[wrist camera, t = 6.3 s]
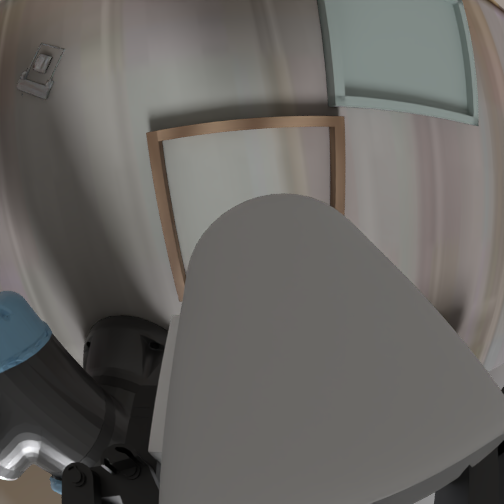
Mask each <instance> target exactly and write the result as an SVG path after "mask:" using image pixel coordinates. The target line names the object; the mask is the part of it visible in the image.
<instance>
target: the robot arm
mask: <svg viewBox="0 0 504 504" xmlns="http://www.w3.org/2000/svg"><path fill="white" fill-rule="evenodd" d="M179 319H180V315H173V316H172V317H171V321H170V326H169V330H168V331H166V330H165V329H163V328H161V327H160V326H158V325H156V324H154V323H151V322H149V321H146V320H143V319H140V318H135V317H130V316H113V317H108V318H105V319H102V320H100V321H99V322H97V323H96V324H95V325H94V326H93V327H92V329H91V330H90V332H89V334H88V336H87V339H86V341H85V344H84V356H83V368H82V367H81V366H80V365H79V364H78V363H77V361H76V360H75V359H74V358H73V357H72V356H71V355H70V354H69V353H68V351H67V350H66V349H65V348H64V347H63V346H62V344H61V343H60V342H59V341H58V340H57V338H56V337H55V336H54V335H53V333H52V331H51V329H50V328H49V326H48V325H47V323H45V322H44V321H42V320H41V319H40V318H39V317H38V315H37V314H36V313H35V312H34V310H33V309H32V308H31V307H30V305H29V304H28V303H27V301H26V300H25V299H24V298H23V297H22V296H21V295H19V294H18V293H16V292H13V291H2V292H0V479H3V480H16V479H18V478H19V477H20V476H21V475H22V474H23V473H24V471H25V470H26V469H27V468H28V467H29V466H30V465H32V464H36V465H37V466H39V467H40V468H42V469H43V470H46V471H47V472H49V473H50V474H52V476H51V477H50V481H51V488H52V489H53V490H54V491H55V492H58V493H59V494H62V504H159V488H160V472H161V459H162V447H163V437H164V427H165V418H166V409H167V400H168V392H169V385H170V377H171V370H172V363H173V357H174V350H175V344H176V337H177V331H178V325H179ZM501 391H502V393H503V394H504V387H503V388H502V390H501ZM434 504H504V440H503V441H502V442H501V443H500V444H499V445H498V446H497V447H496V448H495V449H494V450H493V451H492V452H491V453H489V454H488V455H487V456H486V457H485V458H484V459H482V460H481V461H480V462H479V463H477V464H476V465H475V466H473V467H471V466H470V465H468V467H467V468H466V469H465V470H464V471H463V472H462V474H461V475H460V476H459V477H458V478H457V479H455V480H454V481H452V482H451V483H449V484H447V485H446V486H444V487H443V488H441V489H439V490H438V491H436V492H435V501H434Z"/></svg>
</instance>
